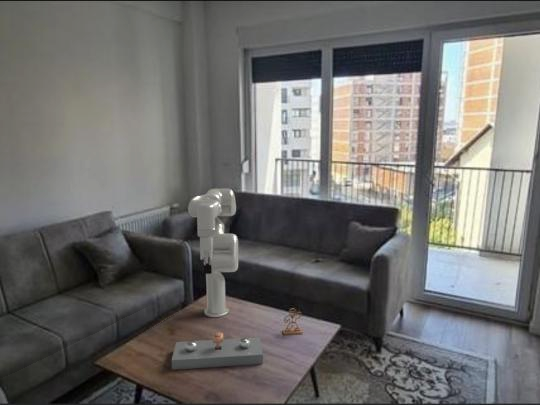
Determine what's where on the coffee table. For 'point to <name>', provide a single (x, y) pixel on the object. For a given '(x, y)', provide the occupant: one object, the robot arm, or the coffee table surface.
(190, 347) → the knob
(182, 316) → the coffee table surface
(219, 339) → the knob middle
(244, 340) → the knob
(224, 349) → the knob panel
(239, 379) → the coffee table surface
